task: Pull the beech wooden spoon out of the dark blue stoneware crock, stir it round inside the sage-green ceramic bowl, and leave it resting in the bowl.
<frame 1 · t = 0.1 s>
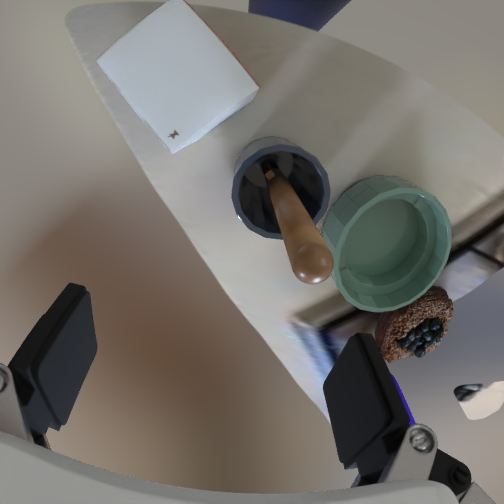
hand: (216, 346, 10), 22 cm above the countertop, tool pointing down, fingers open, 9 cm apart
small box: (203, 88, 25), on the countertop
pastry: (410, 316, 39), on the countertop
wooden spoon: (272, 173, 28), point 1 cm above the countertop, touching crock
crock: (272, 172, 29), on the countertop
bowl: (378, 234, 32), on the countertop
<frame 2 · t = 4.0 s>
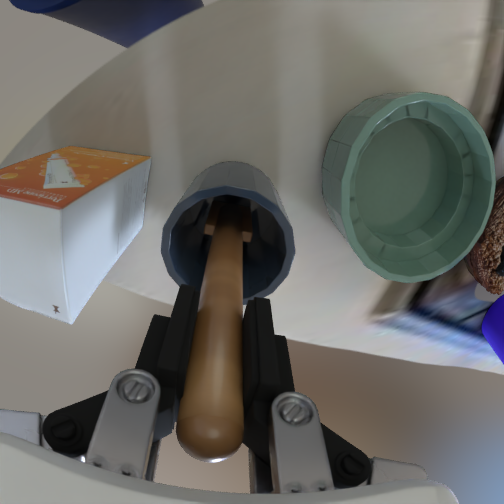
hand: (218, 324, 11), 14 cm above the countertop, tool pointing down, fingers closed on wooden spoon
small box: (105, 184, 22), on the countertop
pastry: (495, 228, 25), on the countertop
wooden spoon: (231, 208, 23), point 1 cm above the countertop, touching gripper
bottle: (498, 312, 31), on the countertop
crock: (232, 207, 23), on the countertop
bowl: (398, 176, 22), on the countertop
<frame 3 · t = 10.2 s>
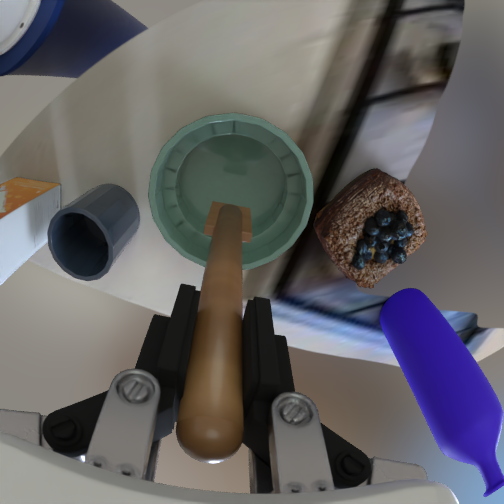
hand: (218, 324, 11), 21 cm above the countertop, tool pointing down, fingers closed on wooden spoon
small box: (38, 202, 29), on the countertop
pastry: (368, 222, 32), on the countertop
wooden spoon: (230, 208, 23), point 8 cm above the countertop, touching gripper
bottle: (401, 308, 39), on the countertop
crock: (110, 215, 31), on the countertop
bowl: (232, 182, 30), on the countertop
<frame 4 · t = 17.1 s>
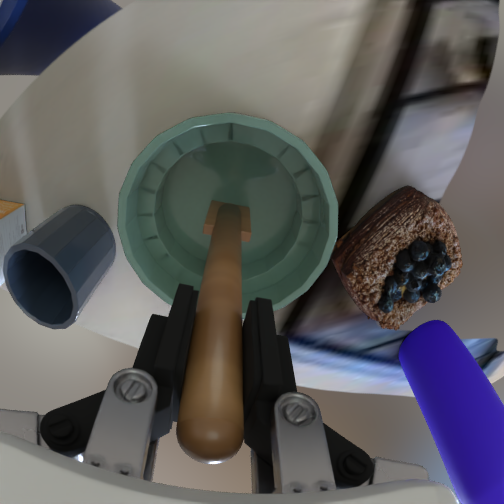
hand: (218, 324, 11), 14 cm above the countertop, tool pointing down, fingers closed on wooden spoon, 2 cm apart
small box: (4, 224, 23), on the countertop
pastry: (395, 250, 26), on the countertop
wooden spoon: (229, 207, 23), point 1 cm above the countertop, touching bowl, gripper
bottle: (422, 341, 32), on the countertop
crock: (81, 242, 24), on the countertop
bowl: (229, 203, 23), on the countertop
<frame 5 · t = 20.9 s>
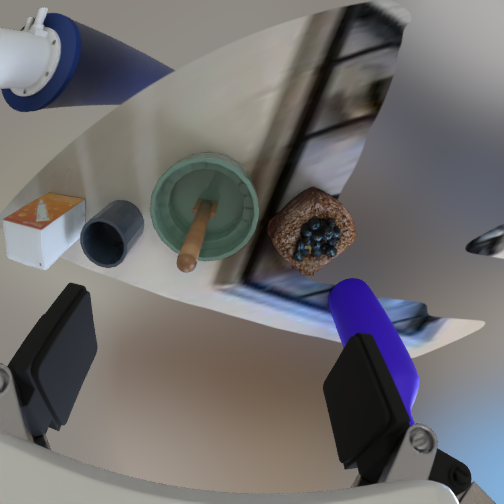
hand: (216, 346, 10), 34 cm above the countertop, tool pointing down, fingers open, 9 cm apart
small box: (67, 211, 42), on the countertop
pastry: (310, 226, 45), on the countertop
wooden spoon: (208, 201, 42), point 1 cm above the countertop, touching bowl
bottle: (348, 295, 51), on the countertop
crock: (122, 222, 44), on the countertop
bowl: (207, 199, 43), on the countertop
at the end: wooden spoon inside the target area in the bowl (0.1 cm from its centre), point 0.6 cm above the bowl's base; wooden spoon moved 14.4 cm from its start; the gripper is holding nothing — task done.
